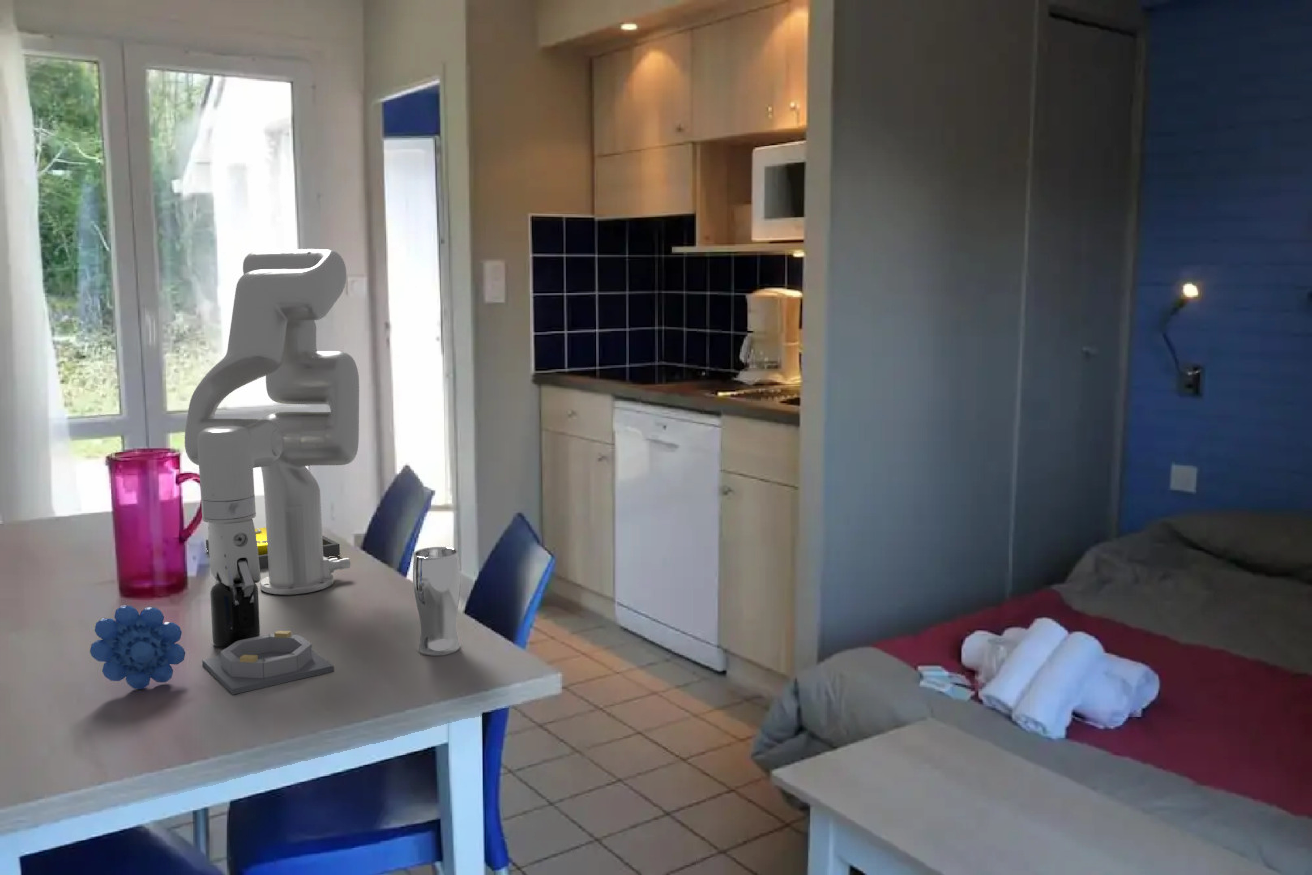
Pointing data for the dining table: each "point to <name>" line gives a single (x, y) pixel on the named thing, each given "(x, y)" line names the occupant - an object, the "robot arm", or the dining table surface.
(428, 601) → the beer glass
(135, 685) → the blue petal flower
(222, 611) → the supplement bottle
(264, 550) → the element tile
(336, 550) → the shallow dark tray
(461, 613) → the dining table surface
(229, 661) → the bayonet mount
